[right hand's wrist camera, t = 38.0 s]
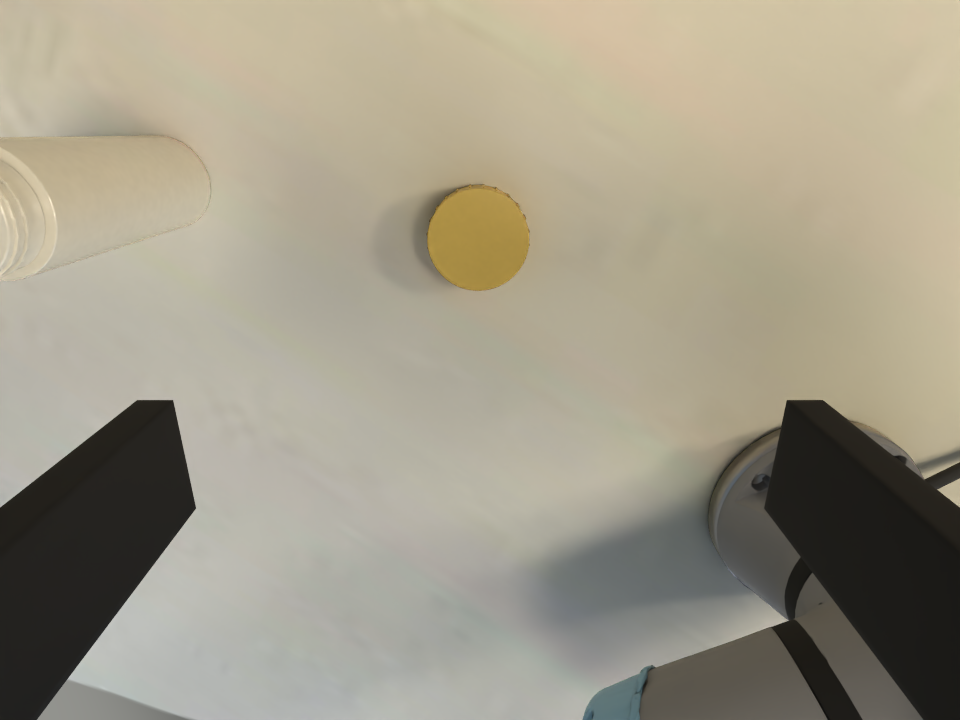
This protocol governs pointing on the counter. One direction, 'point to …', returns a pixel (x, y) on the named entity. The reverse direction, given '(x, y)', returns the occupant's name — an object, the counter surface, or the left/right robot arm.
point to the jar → (91, 197)
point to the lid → (478, 238)
